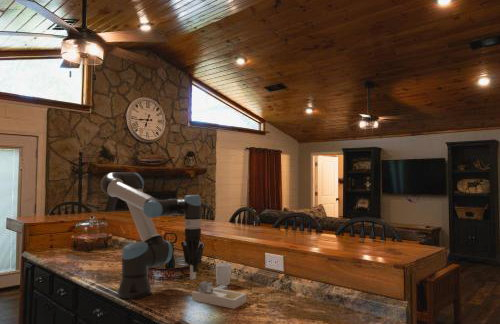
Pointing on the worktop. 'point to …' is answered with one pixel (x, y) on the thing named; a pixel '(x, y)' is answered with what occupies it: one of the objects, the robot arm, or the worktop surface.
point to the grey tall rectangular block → (222, 287)
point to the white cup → (223, 273)
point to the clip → (206, 287)
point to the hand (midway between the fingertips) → (193, 278)
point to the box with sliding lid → (221, 298)
